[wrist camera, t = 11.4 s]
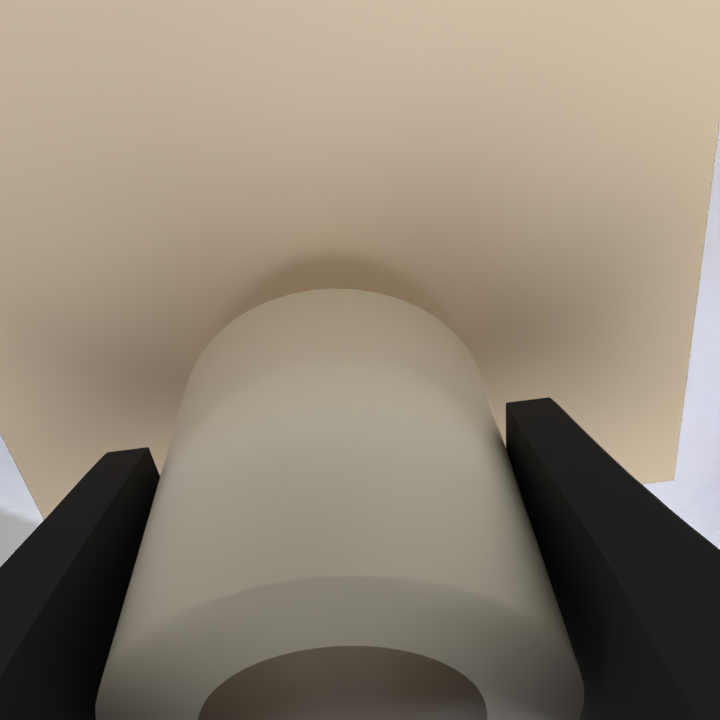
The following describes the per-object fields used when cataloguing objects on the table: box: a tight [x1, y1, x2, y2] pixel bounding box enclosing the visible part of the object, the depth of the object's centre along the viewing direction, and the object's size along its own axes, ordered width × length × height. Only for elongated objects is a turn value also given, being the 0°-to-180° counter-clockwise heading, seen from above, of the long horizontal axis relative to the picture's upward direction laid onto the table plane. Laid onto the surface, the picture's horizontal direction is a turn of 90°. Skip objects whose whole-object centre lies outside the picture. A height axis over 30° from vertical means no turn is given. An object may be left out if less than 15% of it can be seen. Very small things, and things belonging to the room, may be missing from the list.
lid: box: [0, 0, 720, 520], centre depth 11 cm, size 13×13×1 cm
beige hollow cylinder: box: [95, 288, 584, 720], centre depth 9 cm, size 5×5×5 cm
